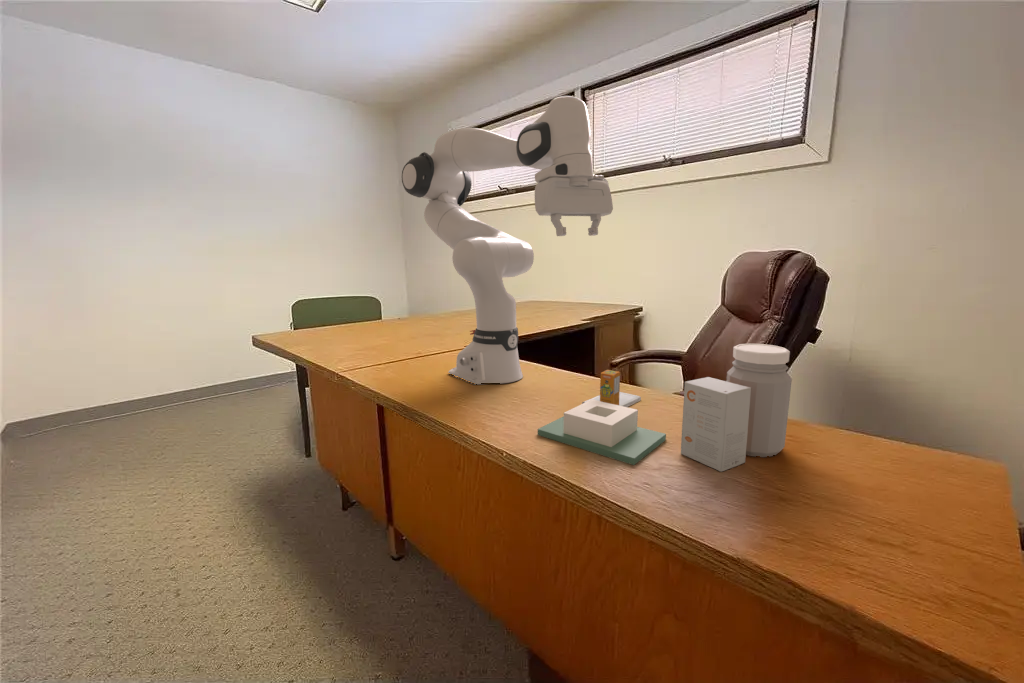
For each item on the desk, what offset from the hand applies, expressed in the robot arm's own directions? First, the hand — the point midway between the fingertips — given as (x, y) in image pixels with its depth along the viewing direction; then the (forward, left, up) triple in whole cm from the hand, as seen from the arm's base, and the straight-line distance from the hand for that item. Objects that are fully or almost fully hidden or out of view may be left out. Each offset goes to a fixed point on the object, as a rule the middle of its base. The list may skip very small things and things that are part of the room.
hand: (577, 235), depth 102 cm
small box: (+36, -14, -39) cm, 55 cm away
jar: (+40, -5, -39) cm, 56 cm away
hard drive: (+9, +1, -39) cm, 40 cm away
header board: (+17, -18, -38) cm, 46 cm away
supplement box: (+13, -8, -39) cm, 41 cm away
